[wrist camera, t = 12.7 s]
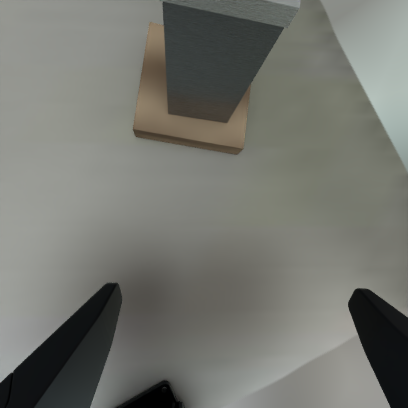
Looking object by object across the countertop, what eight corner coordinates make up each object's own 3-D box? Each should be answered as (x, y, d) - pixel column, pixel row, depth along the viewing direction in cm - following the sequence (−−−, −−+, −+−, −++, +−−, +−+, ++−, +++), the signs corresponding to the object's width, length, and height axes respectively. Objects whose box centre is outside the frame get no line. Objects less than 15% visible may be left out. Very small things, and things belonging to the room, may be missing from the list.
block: (235, 156, 24) (243, 148, 21) (136, 138, 22) (132, 129, 20) (246, 65, 25) (254, 48, 22) (151, 42, 23) (149, 21, 21)
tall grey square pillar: (228, 124, 21) (299, 8, 9) (166, 114, 20) (158, -25, 8) (233, 65, 21) (309, -121, 9) (173, 54, 21) (173, -162, 9)
